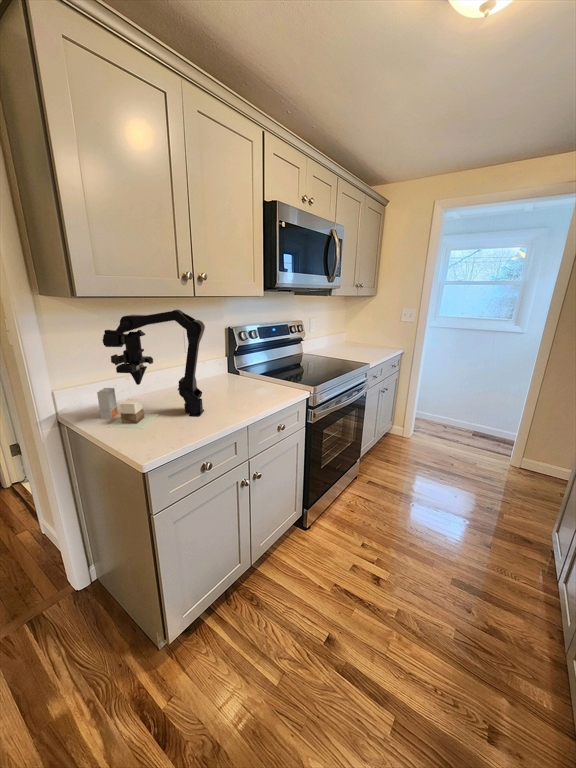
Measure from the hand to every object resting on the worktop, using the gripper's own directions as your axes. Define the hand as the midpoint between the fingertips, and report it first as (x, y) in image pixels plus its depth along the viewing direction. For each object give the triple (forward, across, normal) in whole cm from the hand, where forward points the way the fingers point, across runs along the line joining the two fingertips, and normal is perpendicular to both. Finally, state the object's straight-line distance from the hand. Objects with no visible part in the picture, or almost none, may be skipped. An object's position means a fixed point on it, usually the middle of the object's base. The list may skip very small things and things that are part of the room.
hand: (138, 384), depth 130 cm
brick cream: (+8, +9, +1) cm, 12 cm away
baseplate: (+13, +9, +1) cm, 16 cm away
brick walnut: (+12, +9, +1) cm, 15 cm away
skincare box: (+13, +5, -11) cm, 18 cm away
